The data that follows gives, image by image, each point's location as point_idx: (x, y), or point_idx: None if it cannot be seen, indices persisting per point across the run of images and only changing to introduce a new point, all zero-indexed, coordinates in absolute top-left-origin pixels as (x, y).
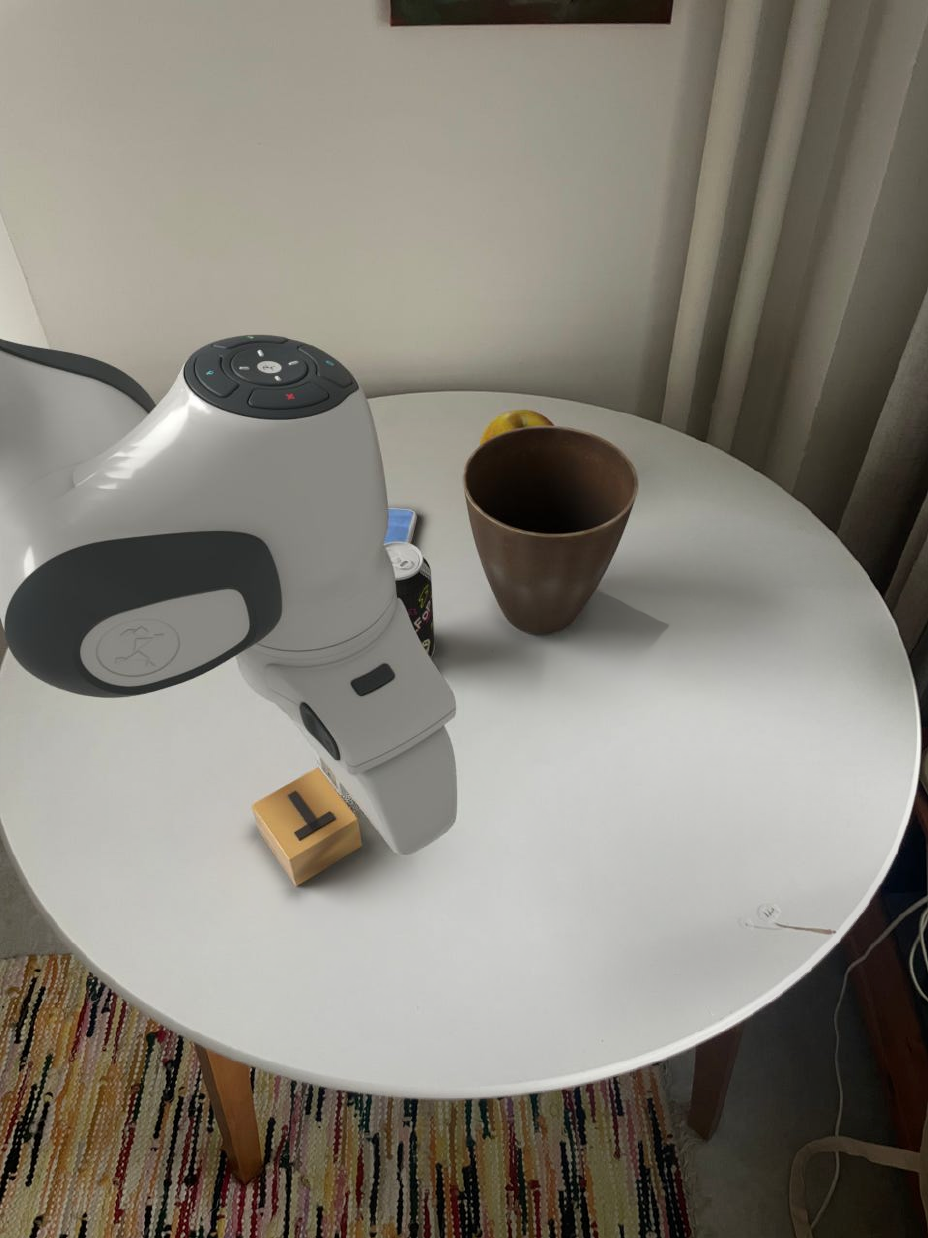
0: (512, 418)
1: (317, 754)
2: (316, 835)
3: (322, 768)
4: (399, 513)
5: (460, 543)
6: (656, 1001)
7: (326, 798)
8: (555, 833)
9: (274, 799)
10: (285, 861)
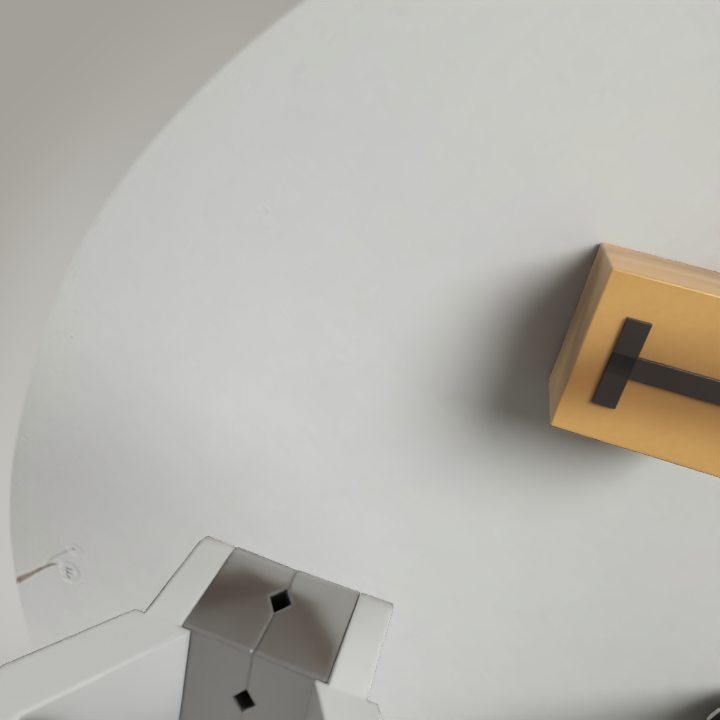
0: None
1: (348, 685)
2: (601, 348)
3: (351, 605)
4: None
5: None
6: (68, 416)
7: (646, 428)
8: (313, 549)
9: None
10: (638, 264)
